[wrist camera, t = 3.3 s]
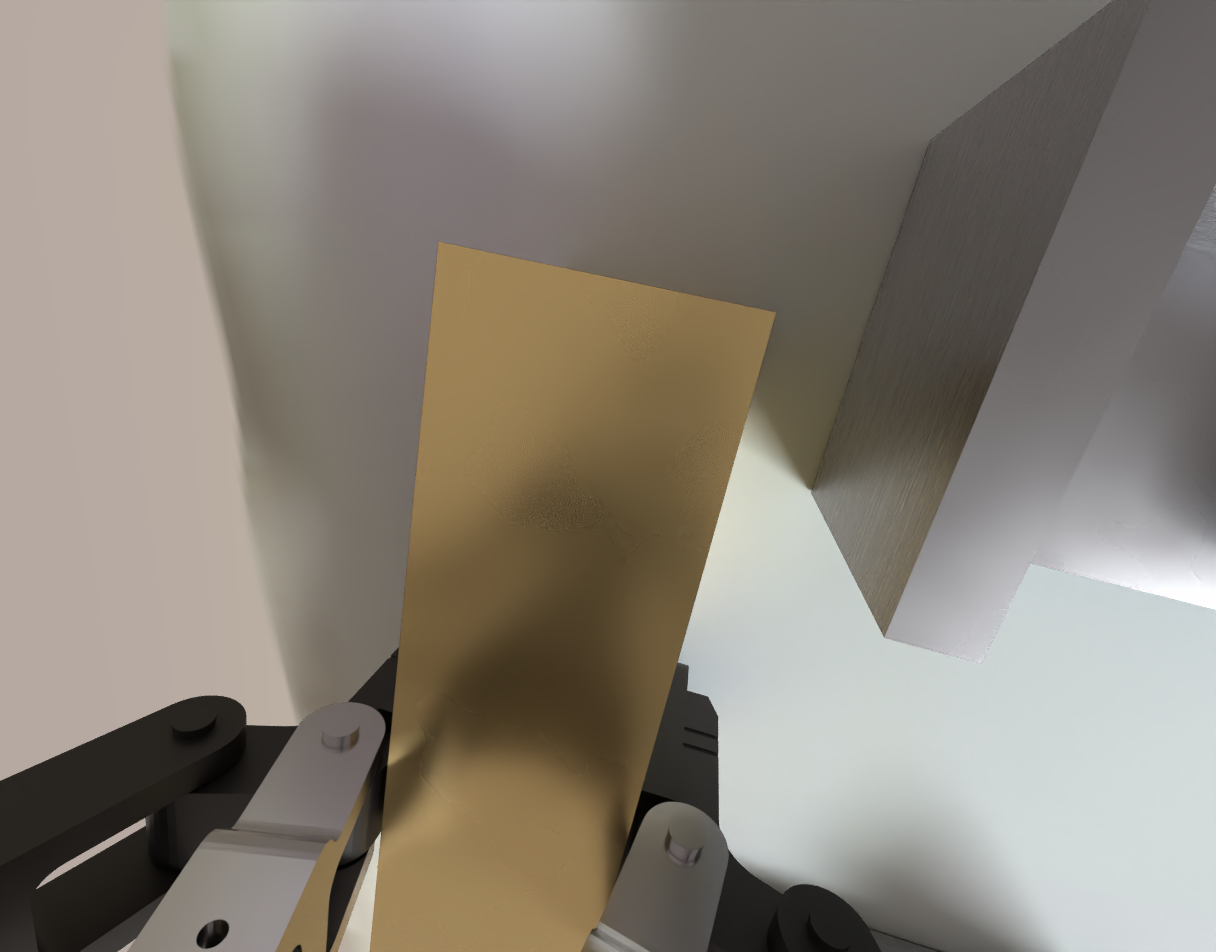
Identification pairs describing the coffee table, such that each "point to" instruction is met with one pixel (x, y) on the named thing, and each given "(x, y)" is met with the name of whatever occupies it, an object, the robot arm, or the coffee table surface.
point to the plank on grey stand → (1044, 345)
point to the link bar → (547, 589)
